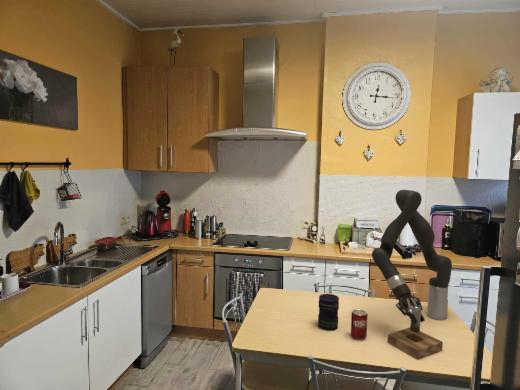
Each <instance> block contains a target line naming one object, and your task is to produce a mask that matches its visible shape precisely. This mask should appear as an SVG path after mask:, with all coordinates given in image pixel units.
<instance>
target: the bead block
mask: <svg viewBox="0 0 520 390" xmlns="http://www.w3.org/2000/svg"><path fill="white" fill-rule="evenodd" d="M386 343H387V344H389V345H391V346H392V347H394V348H397V349H398V350H400V351H401V352H404V353H405V354H407V355H408V356H411V357H412V358H414V359H416V360H417V361H418V360H420V359H423V358H426V357H429V356H431V355H435V354H437V353H440V352H442V351H443V346H444V345H443V340H442V341H441V340H439V338H436V337H434V336H431V335H430V334H427V333H425V332H424V331H421V330H420V332H413V331H411V330H410V327H407V328H403V329H400V330H397V331H394V332H390V333H387V341H386Z"/></svg>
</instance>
